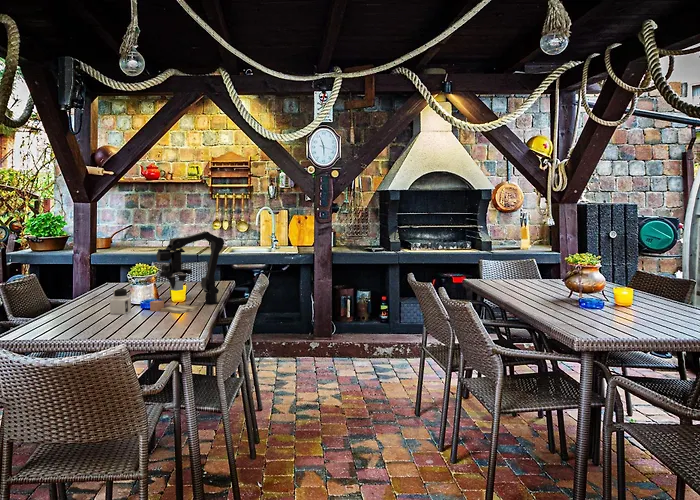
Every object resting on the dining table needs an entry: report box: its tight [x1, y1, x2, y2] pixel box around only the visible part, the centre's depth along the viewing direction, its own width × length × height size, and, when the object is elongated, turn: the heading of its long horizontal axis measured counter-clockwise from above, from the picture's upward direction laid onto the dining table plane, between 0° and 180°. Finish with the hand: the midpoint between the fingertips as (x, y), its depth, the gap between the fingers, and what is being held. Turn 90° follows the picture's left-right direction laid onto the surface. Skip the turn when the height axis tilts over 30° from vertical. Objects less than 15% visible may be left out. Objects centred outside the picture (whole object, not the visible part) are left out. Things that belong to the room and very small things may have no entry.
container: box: [109, 288, 132, 315], centre depth 292 cm, size 8×8×13 cm
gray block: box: [169, 279, 184, 292], centre depth 308 cm, size 5×5×5 cm
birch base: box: [160, 304, 200, 315], centre depth 301 cm, size 14×14×2 cm
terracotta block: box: [149, 299, 165, 312], centre depth 300 cm, size 5×5×5 cm
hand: (176, 288), depth 308 cm, fingers closed on gray block, 5 cm apart
